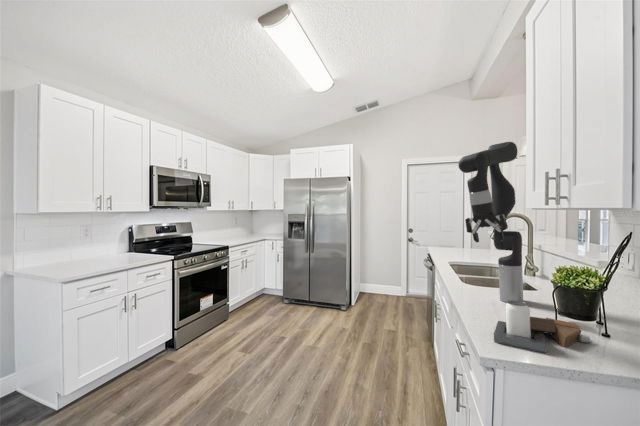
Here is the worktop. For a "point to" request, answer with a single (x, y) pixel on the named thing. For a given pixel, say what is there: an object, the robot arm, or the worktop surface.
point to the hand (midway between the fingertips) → (488, 241)
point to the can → (518, 318)
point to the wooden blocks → (559, 330)
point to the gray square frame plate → (520, 339)
